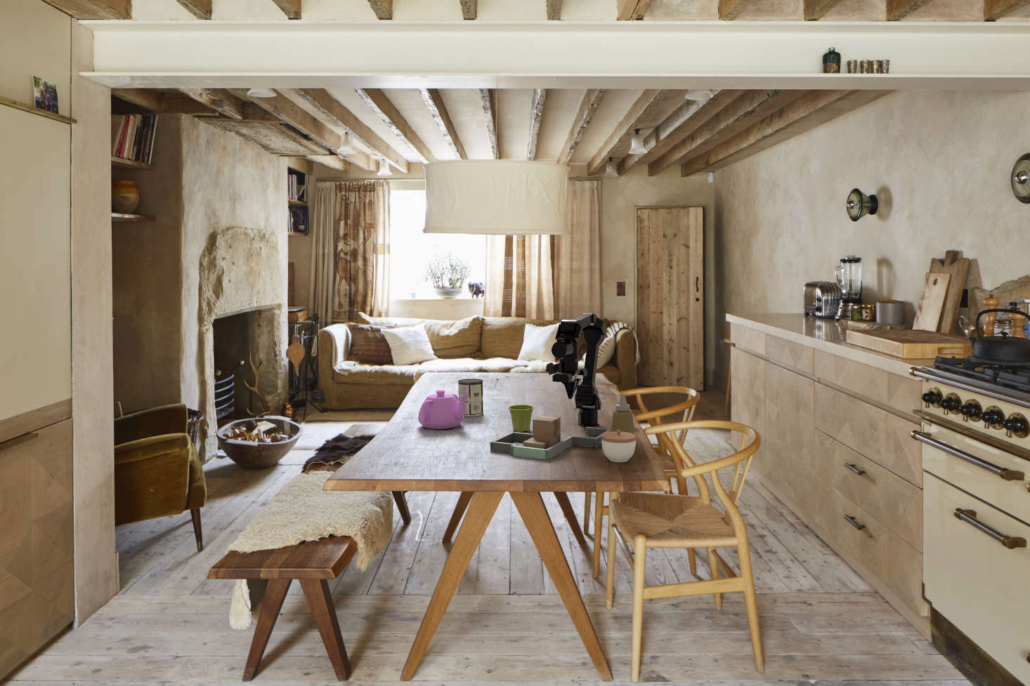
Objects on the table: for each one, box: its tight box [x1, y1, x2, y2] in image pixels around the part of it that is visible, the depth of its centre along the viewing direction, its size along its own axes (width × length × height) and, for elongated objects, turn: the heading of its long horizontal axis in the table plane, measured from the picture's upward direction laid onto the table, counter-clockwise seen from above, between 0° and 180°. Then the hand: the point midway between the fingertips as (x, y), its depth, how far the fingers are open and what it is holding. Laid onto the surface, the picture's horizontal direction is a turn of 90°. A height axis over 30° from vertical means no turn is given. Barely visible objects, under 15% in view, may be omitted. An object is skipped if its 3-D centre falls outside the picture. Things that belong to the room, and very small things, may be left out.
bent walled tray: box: [489, 426, 611, 461], centre depth 236 cm, size 36×30×3 cm
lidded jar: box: [601, 430, 637, 463], centre depth 216 cm, size 11×11×9 cm
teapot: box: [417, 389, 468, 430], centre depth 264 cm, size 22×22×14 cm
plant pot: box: [508, 404, 535, 433], centre depth 258 cm, size 9×9×9 cm
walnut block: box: [523, 415, 562, 449], centre depth 228 cm, size 14×7×10 cm, turn 153°
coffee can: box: [457, 378, 484, 417], centre depth 287 cm, size 10×10×14 cm
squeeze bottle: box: [610, 393, 635, 434], centre depth 230 cm, size 8×8×18 cm
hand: (570, 398), depth 249 cm, fingers closed
